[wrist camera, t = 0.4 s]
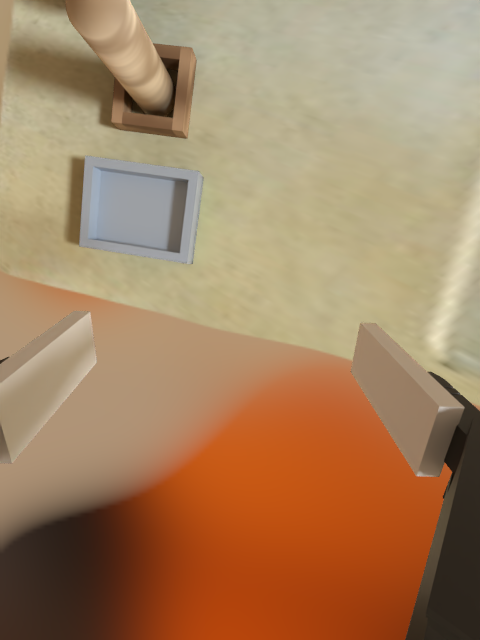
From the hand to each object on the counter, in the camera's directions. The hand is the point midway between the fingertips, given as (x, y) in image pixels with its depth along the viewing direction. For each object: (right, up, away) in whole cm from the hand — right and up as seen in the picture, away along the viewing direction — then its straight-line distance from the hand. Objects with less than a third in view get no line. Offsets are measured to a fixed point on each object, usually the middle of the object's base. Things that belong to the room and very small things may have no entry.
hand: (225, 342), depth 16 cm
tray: (-11, +14, +23) cm, 29 cm away
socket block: (-9, +27, +21) cm, 35 cm away
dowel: (-9, +27, +21) cm, 35 cm away
